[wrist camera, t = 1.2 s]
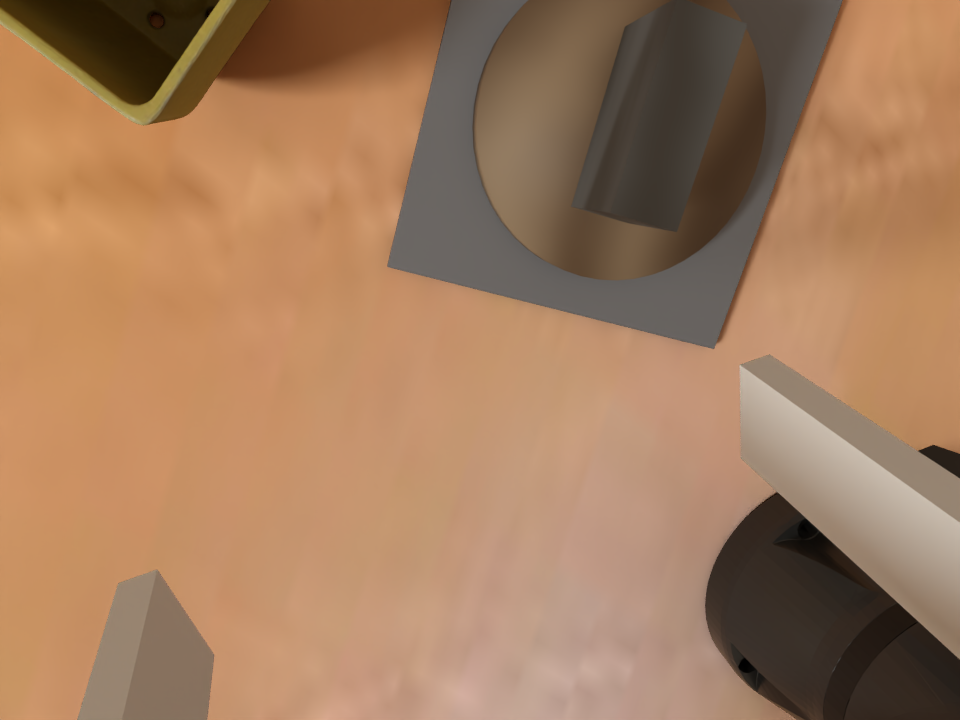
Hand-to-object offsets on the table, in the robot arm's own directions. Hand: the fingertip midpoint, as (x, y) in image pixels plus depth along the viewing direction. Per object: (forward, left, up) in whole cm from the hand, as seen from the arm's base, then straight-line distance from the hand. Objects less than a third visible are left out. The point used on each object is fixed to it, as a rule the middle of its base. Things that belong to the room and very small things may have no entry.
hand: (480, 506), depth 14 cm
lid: (-7, -11, -18) cm, 23 cm away
